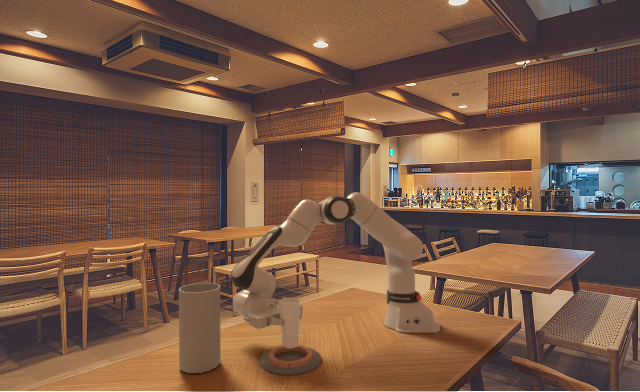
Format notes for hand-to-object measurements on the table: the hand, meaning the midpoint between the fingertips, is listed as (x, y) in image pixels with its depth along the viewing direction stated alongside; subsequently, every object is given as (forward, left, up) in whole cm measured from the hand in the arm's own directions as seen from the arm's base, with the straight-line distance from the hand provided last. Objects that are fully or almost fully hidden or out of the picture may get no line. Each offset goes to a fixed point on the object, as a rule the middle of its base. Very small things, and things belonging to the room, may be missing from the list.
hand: (291, 320), depth 121 cm
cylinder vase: (+28, +10, -14) cm, 32 cm away
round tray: (+1, 0, -13) cm, 14 cm away
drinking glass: (0, 0, -9) cm, 9 cm away
